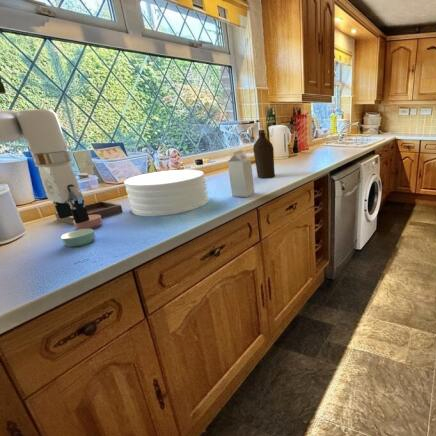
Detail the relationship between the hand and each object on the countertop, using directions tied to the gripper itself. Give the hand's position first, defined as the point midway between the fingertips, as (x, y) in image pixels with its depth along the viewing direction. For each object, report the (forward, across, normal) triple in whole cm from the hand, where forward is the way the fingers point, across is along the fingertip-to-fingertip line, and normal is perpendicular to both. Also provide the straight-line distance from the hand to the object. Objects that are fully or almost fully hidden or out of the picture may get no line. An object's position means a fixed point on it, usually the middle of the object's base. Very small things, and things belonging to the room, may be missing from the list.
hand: (74, 219), depth 85 cm
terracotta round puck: (+7, -13, +8) cm, 17 cm away
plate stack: (+8, -10, +36) cm, 38 cm away
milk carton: (+8, +7, +59) cm, 60 cm away
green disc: (+7, 0, 0) cm, 7 cm away
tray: (+7, -26, +14) cm, 30 cm away
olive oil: (+8, -9, +93) cm, 94 cm away
